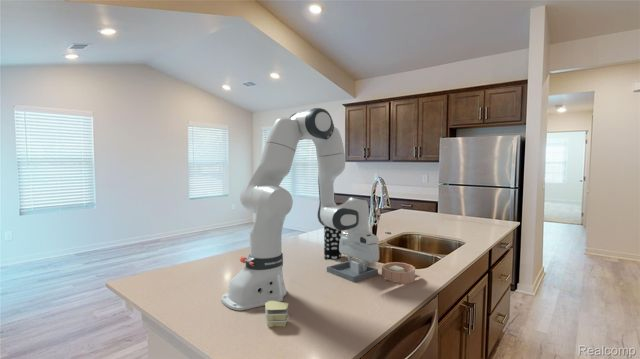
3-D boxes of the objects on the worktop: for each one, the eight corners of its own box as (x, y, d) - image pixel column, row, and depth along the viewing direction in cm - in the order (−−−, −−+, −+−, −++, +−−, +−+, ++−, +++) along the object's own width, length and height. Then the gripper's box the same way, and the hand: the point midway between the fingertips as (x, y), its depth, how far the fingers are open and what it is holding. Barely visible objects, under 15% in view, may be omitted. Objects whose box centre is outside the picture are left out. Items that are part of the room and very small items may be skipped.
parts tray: (353, 284, 126) (353, 277, 126) (326, 273, 138) (326, 266, 138) (378, 275, 135) (378, 269, 135) (350, 266, 147) (350, 260, 147)
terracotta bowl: (401, 286, 123) (401, 275, 123) (375, 277, 133) (375, 266, 133) (421, 279, 131) (421, 267, 131) (395, 270, 141) (395, 260, 141)
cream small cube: (396, 280, 128) (396, 270, 128) (388, 277, 131) (388, 267, 131) (404, 278, 131) (404, 268, 130) (395, 275, 134) (395, 265, 134)
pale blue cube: (358, 273, 136) (358, 263, 136) (350, 270, 139) (350, 261, 139) (365, 271, 139) (365, 261, 138) (357, 268, 142) (357, 259, 142)
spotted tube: (335, 262, 154) (334, 219, 152) (320, 259, 159) (320, 217, 157) (344, 257, 160) (344, 216, 159) (330, 255, 165) (330, 215, 164)
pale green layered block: (295, 317, 101) (295, 299, 100) (290, 332, 92) (290, 313, 91) (263, 316, 102) (262, 298, 101) (255, 331, 93) (254, 312, 92)
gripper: (335, 232, 144) (335, 263, 145) (371, 241, 128) (371, 276, 129) (346, 230, 148) (346, 260, 149) (381, 238, 132) (381, 272, 133)
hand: (358, 268), depth 139 cm, fingers open, 5 cm apart
